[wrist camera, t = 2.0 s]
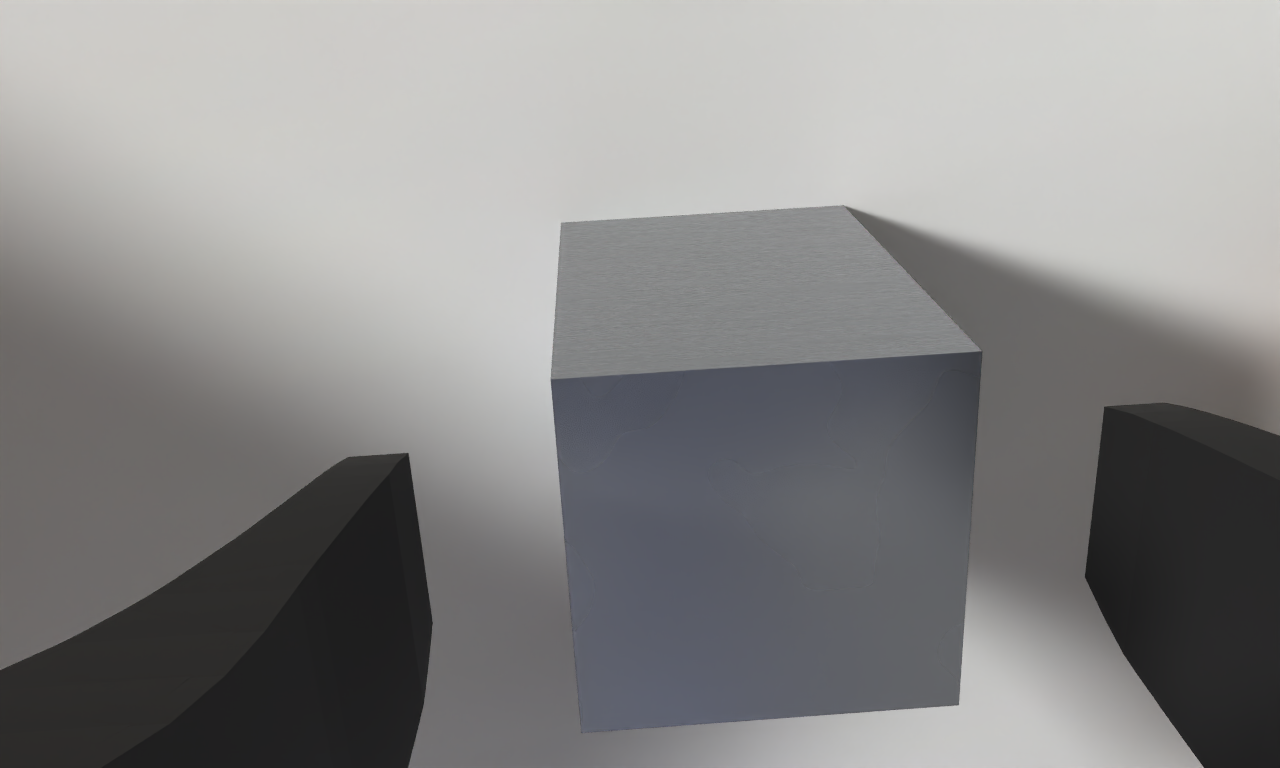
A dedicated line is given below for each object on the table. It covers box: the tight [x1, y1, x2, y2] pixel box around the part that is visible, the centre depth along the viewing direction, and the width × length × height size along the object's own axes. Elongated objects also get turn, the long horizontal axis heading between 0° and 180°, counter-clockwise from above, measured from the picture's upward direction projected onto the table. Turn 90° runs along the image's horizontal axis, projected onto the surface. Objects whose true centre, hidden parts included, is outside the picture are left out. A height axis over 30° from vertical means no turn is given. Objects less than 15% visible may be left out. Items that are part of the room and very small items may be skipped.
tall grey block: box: [551, 205, 982, 733], centre depth 14 cm, size 4×4×6 cm
